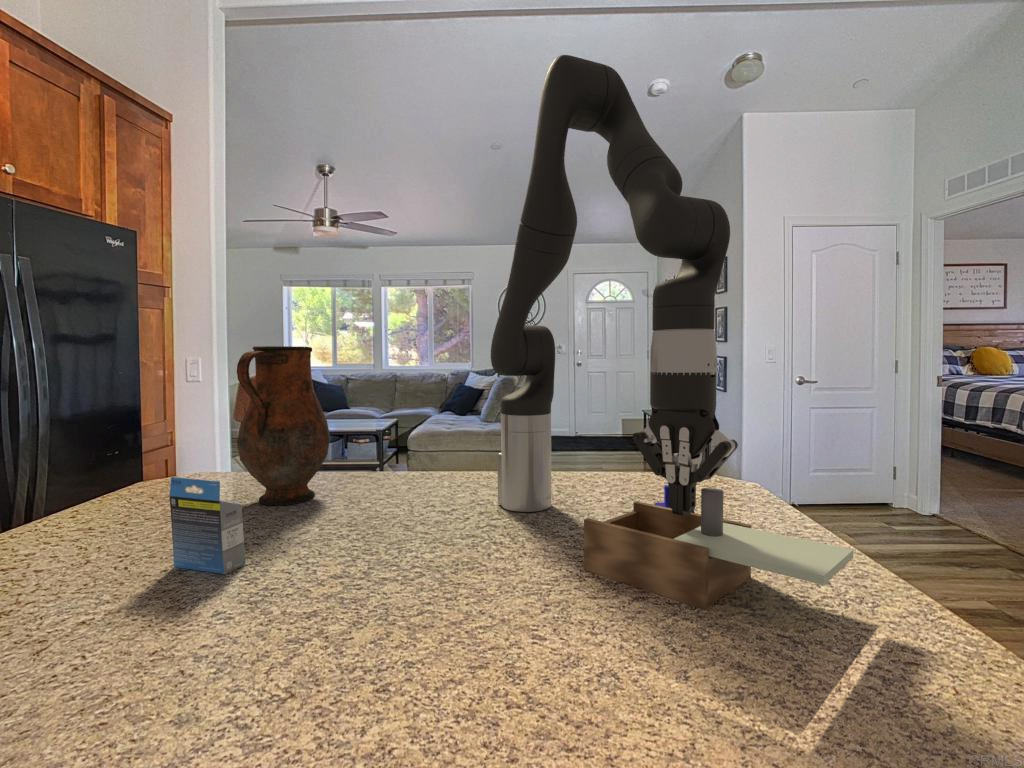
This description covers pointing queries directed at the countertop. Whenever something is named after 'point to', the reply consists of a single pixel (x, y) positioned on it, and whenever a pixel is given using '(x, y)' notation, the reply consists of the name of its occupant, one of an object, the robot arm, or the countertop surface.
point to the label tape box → (205, 528)
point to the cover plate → (763, 546)
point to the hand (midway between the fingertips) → (682, 513)
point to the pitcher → (282, 423)
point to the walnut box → (660, 555)
